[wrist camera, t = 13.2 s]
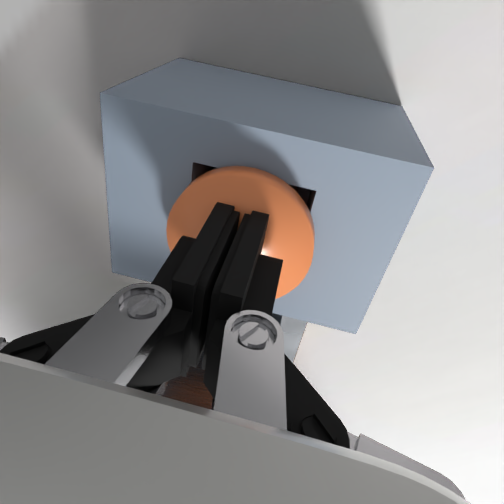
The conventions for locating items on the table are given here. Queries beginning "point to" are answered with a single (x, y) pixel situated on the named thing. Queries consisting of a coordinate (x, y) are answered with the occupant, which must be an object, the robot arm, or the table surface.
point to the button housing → (272, 161)
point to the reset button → (245, 201)
